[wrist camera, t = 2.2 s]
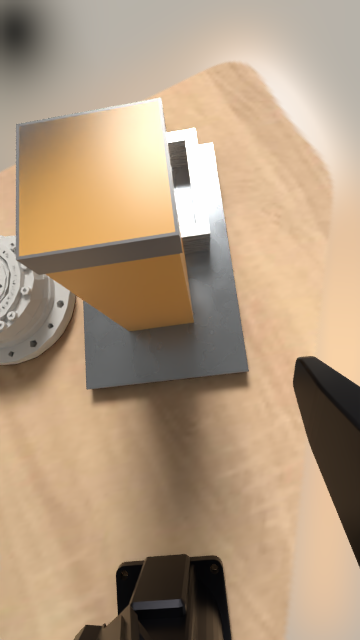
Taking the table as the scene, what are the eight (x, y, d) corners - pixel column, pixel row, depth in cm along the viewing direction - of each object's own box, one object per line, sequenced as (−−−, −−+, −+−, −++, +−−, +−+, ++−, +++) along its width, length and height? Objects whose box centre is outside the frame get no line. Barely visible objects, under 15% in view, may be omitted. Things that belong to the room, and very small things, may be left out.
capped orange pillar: (195, 323, 20) (179, 234, 8) (127, 332, 21) (15, 259, 9) (187, 259, 22) (161, 98, 9) (122, 269, 22) (16, 124, 10)
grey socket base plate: (246, 371, 20) (254, 369, 17) (92, 389, 21) (70, 390, 18) (212, 152, 24) (213, 114, 21) (83, 172, 25) (63, 139, 22)
